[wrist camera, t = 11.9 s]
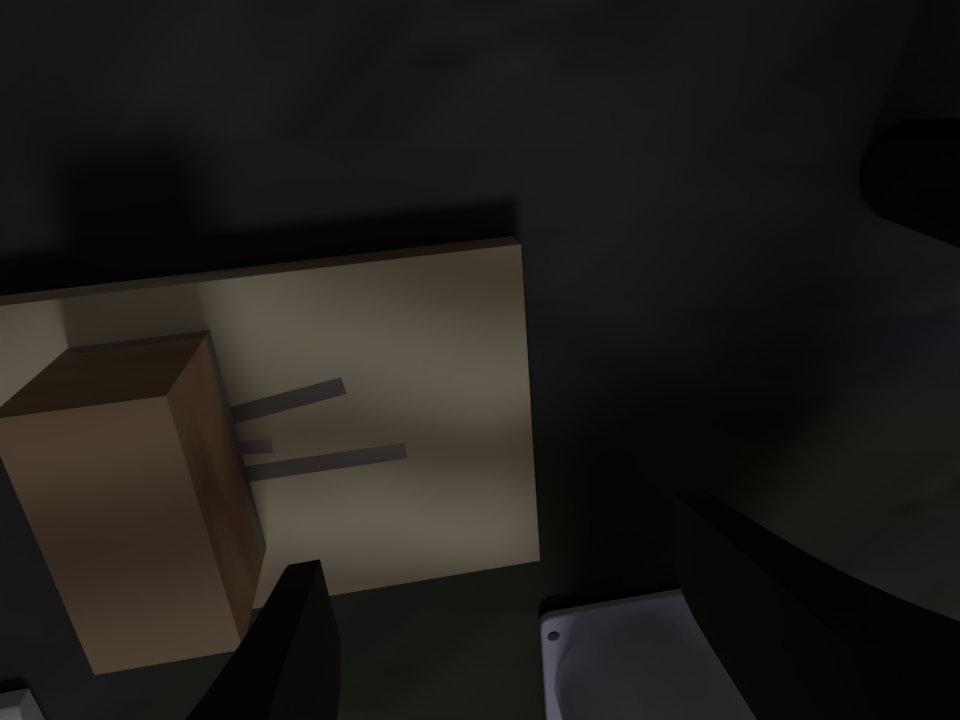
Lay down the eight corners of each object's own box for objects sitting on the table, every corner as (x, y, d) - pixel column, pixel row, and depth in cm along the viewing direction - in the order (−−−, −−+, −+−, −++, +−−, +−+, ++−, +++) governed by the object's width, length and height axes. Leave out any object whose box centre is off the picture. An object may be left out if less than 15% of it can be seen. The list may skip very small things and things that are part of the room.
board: (532, 540, 26) (539, 560, 25) (104, 610, 24) (91, 635, 23) (513, 235, 21) (521, 244, 20) (-21, 298, 20) (-45, 310, 18)
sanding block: (266, 547, 23) (242, 649, 19) (145, 566, 22) (94, 675, 18) (209, 330, 20) (166, 396, 16) (68, 347, 19) (-15, 420, 15)
